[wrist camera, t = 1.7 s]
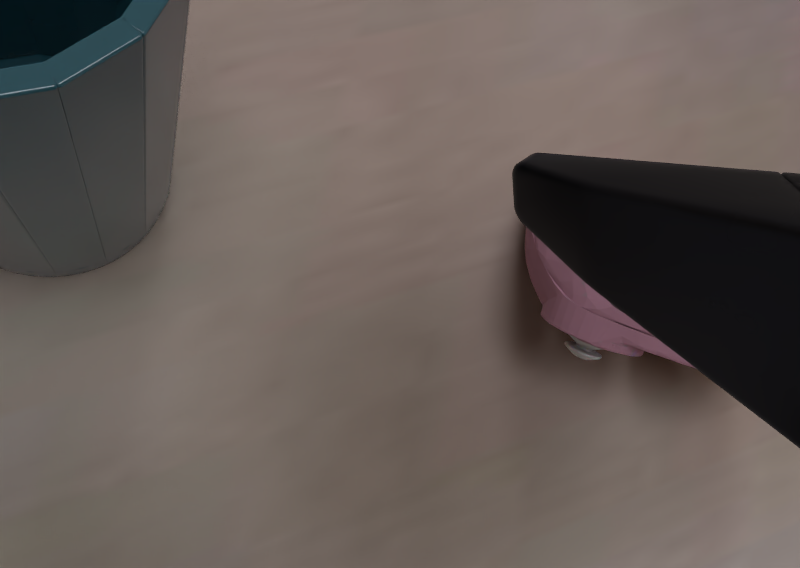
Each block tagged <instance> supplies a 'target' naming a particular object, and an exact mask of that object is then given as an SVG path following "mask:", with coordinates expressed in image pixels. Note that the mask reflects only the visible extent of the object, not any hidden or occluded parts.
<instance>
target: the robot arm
mask: <svg viewBox="0 0 800 568" xmlns="http://www.w3.org/2000/svg"><path fill="white" fill-rule="evenodd" d="M512 178H513V195H514V208H515V212H516V214H517V216H518V218H519V219H520V221H521V222H522V223H523V224H524V225H525V226H526V227H527V228H528V229H529V230H530V231H531V232H532V233H533V234H534V235H535V236H536V237H537V238H539V239H540V240H541V241H542V242H543V243H544V244H545V245H546V246H547V247H548V248H549V249H550V250H551V251H552V252H553V253H554V254H555V255H556V256H557V257H558V258H559V259H561V260H562V261H563V262H564V263H565V264H566V265H567V266H568V267H569V268H570V269H571V270H572V271H573V272H574V273H575V274H576V275H577V276H578V277H580V278H581V279H582V280H583V281H584V282H585V283H586V284H588V285H589V286H590V287H591V288H592V289H594V290H595V291H596V292H597V293H599V294H600V295H601V296H603V297H604V298H605V299H606V300H608V301H609V302H610V303H612V304H613V305H614V306H616V307H617V308H618V309H619V310H621V311H622V312H623V313H625V314H626V315H627V316H629V317H630V318H631V319H632V320H634V321H635V322H636V323H638V324H639V325H640V326H642V327H643V328H644V329H645V330H647V331H648V332H649V333H651V334H652V335H653V336H655V337H656V338H657V339H658V340H660V341H661V342H662V343H664V344H665V345H666V346H668V347H669V348H670V349H671V350H673V351H674V352H675V353H677V354H678V355H679V356H681V357H682V358H683V359H684V360H686V361H687V362H688V363H690V364H691V365H692V366H694V367H695V368H696V369H697V370H699V371H700V372H701V373H703V374H704V375H705V376H707V377H708V378H709V379H710V380H712V381H713V382H714V383H716V384H717V385H718V386H720V387H721V388H722V389H723V390H725V391H726V392H727V393H729V394H730V395H731V396H733V397H734V398H735V399H736V400H738V401H739V402H740V403H742V404H743V405H744V406H746V407H747V408H748V409H749V410H751V411H752V412H753V413H755V414H756V415H757V416H759V417H760V418H761V419H763V420H764V421H765V422H766V423H768V424H769V425H770V426H772V427H773V428H774V429H776V430H777V431H778V432H779V433H781V434H782V435H783V436H785V437H786V438H787V439H789V440H790V441H791V442H792V443H794V444H795V445H796V446H798V447H799V448H800V174H797V173H782V174H780V173H779V172H772V171H759V170H747V169H734V168H722V167H710V166H697V165H685V164H673V163H660V162H648V161H635V160H623V159H611V158H598V157H586V156H574V155H561V154H549V153H534V154H532V155H530V156H528V157H527V158H525V159H524V160H522V161H521V162H519V163H518V164H516V165H515V167H514V169H513V172H512Z"/></svg>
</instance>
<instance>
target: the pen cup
mask: <svg viewBox="0 0 800 568" xmlns="http://www.w3.org/2000/svg"><path fill="white" fill-rule="evenodd" d="M189 6H190V0H0V269H3V270H7V271H10V272H14V273H17V274H23V275H30V276H41V277H57V276H69V275H74V274H79V273H84V272H87V271H90V270H94V269H97V268H100V267H102V266H104V265H106V264H108V263H110V262H113V261H115V260H116V259H118V258H119V257H121V256H123V255H124V254H126V253H127V252H129V251H130V250H131V249H132V248H133V247H135V246H136V245H137V244H138V243H139V242H140V241H141V240H142V239H143V238H144V237H145V236H146V235H147V234H148V233H149V231H150V230H151V228H152V227H153V226H154V224H155V223H156V221H157V220H158V218H159V216H160V214H161V212H162V210H163V208H164V205H165V202H166V199H167V197H168V194H169V190H170V182H171V172H172V164H173V155H174V146H175V137H176V127H177V118H178V109H179V99H180V90H181V81H182V71H183V62H184V53H185V43H186V34H187V25H188V15H189Z"/></svg>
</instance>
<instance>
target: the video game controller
mask: <svg viewBox="0 0 800 568" xmlns="http://www.w3.org/2000/svg"><path fill="white" fill-rule="evenodd" d="M525 257H526V263H527V267H528V271H529V275H530V279H531V281H532V284H533V286H534V289H535V291H536V293H537V295H538V297H539V299H540V301H541V303H542V305H543V307H542V311H541V316H542V317H543V319H545V320H546V321H547V322H548V323H550V324H551V325H552V326H554V327H556V328H558V329H559V330H561V331H563V332H565V333H567V334H569V335H570V336H571V337H572V338H573V340H574V341H575V342H574V341H566V342H565V345H566V347H568V349H569V350H570V351H571V352H572V354H573V355H575V356H577V357H579V358H581V359H584V360H599V359H600V358H601V357H602V356H601V355H600V354H599V353H598V352H597V351H595V350H602V349H605V350H608V351H611V352H614V353H619V354H623V355H628V356H637V357H640V356H642V355H643V353H644V351H646V352H649V353H652V354H654V355H657V356H660V357H663V358H666V359H669V360H672V361H674V362H677V363H680V364H683V365H686V366H689V367H693V368H695V367H694V366H692V365H691V364H690V363H688V362H687V361H686V360H684V359H683V358H682V357H681V356H679V355H678V354H677V353H675V352H674V351H673V350H671V349H670V348H669V347H668V346H666V345H665V344H664V343H662V342H661V341H660V340H658V339H657V338H656V337H655V336H653V335H652V334H651V333H649V332H648V331H647V330H645V329H644V328H643V327H642V326H640V325H639V324H638V323H636V322H635V321H634V320H632V319H631V318H630V317H629V316H627V315H626V314H625V313H623V312H622V311H621V310H619V309H618V308H617V307H616V306H614V305H613V304H612V303H610V302H609V301H608V300H606V299H605V298H604V297H603V296H601V295H600V294H599V293H597V292H596V291H595V290H594V289H592V288H591V287H590V286H589V285H588V284H586V283H585V282H584V281H583V280H582V279H581V278H580V277H578V276H577V275H576V274H575V273H574V272H573V271H572V270H571V269H570V268H569V267H568V266H567V265H566V264H565V263H564V262H563V261H562V260H561V259H559V258H558V257H557V256H556V255H555V254H554V253H553V252H552V251H551V250H550V249H549V248H548V247H547V246H546V245H545V244H544V243H543V242H542V241H541V240H540V239H539V238H537V237H536V236H535V235H534V234H533V233H532V232H531V231H530V230H529V229H528V228H527V227H526V233H525Z"/></svg>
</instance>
